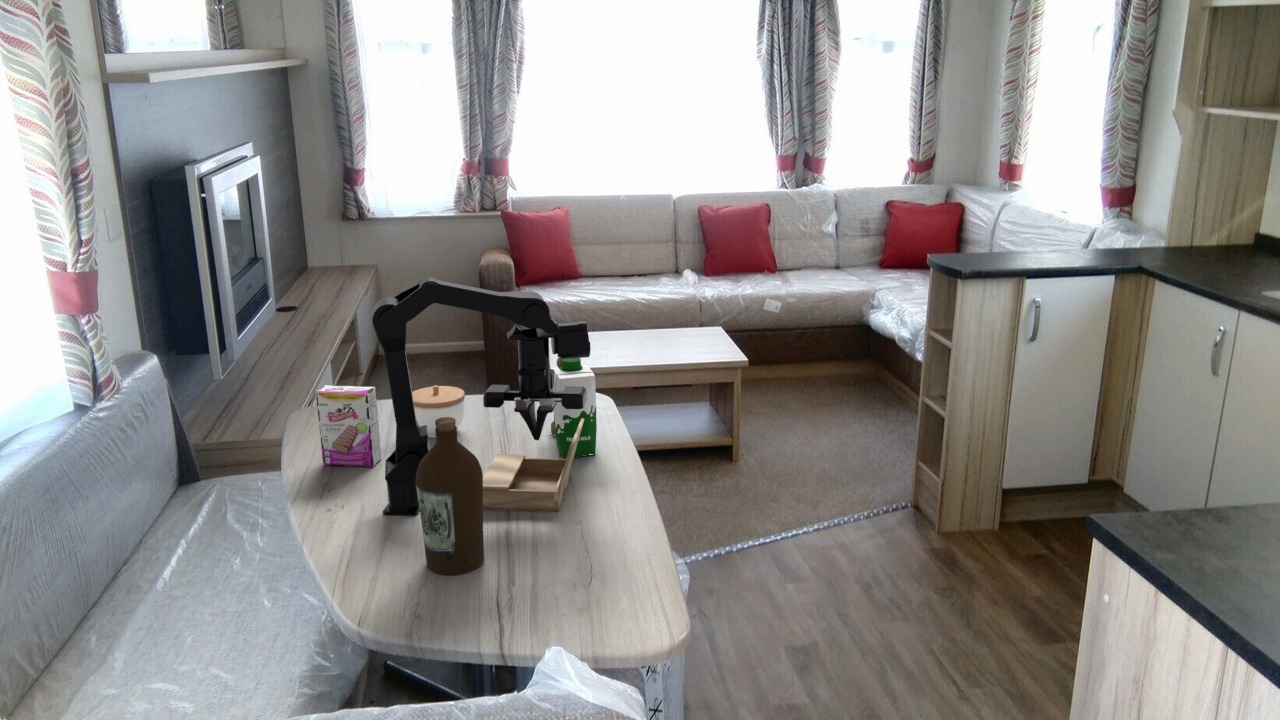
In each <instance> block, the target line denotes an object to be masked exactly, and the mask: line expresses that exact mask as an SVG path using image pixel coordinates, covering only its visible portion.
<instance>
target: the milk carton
mask: <svg viewBox="0 0 1280 720" xmlns="http://www.w3.org/2000/svg"><path fill="white" fill-rule="evenodd" d="M581 362H582V359H581V358H571V359H562V367H558V366H557V367H553V368H552V370H554V386H553V389H552V392H563V391H564V389H565V387H566V386H583V387H584V388H585V389H586V391H587V400H586V403H585V405H584V407H583V409H565V408H564V407H563V406H562V402H557V405H556V407H555V409H554V411H553V421H554V428H555V436H556V437H555V436H554V437H555V441H556V447H557V449H558V451H559V453H560V455H561V456H563V457H562V459H563V458H565V459H566V458H567V455H568V451H569V447H570V445H571V443H572V440H573V438H574V435H575V433H576V430H577V428H578V426H579V423H580V421H581V418H583V419H584V423H583V426H582V430H581V433H580V437H579V440H578V444H577V448H576V451H575V455H574V458H578V457H577V456H583V455H589V454H595V453H596V451H597V429H598V427H597V394H596V375H595V373H594V371H593V370H592V369H591V368H590V367H589V366H588V365H587V364H585V365H582V363H581ZM595 455H596V454H595ZM583 457H584V456H583Z"/></svg>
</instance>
